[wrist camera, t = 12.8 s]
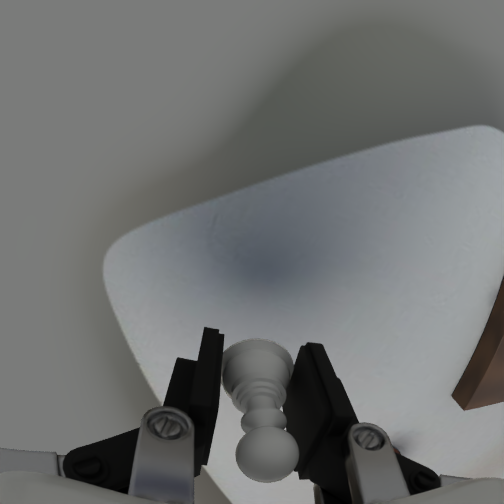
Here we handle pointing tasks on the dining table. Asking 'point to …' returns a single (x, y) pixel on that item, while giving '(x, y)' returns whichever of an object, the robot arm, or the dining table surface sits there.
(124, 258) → the dining table surface
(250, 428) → the chess pawn
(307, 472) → the robot arm
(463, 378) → the panel
